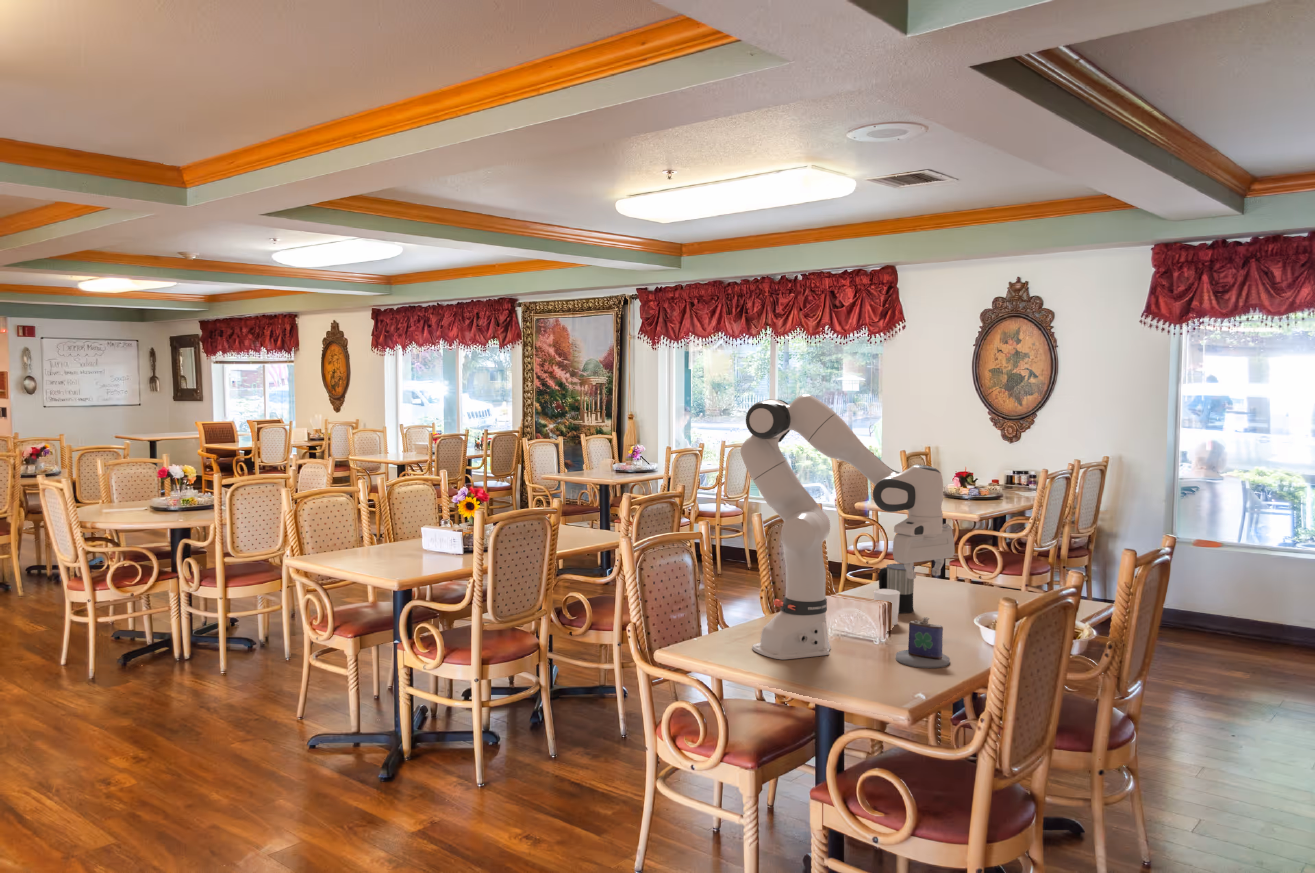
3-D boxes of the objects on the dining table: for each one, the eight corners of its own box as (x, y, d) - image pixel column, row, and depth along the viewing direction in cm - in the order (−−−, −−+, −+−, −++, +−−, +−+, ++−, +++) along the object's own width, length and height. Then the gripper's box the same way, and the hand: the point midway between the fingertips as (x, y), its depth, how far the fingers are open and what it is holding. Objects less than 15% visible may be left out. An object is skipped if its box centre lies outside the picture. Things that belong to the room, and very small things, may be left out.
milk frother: (919, 610, 305) (920, 565, 304) (895, 618, 294) (896, 572, 293) (881, 603, 315) (882, 560, 314) (856, 611, 304) (857, 566, 303)
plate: (924, 671, 238) (924, 667, 238) (884, 657, 250) (884, 654, 250) (960, 663, 246) (961, 659, 246) (920, 650, 258) (920, 646, 258)
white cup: (899, 626, 283) (900, 594, 283) (873, 625, 285) (874, 593, 284) (898, 620, 291) (899, 589, 290) (873, 619, 293) (873, 588, 292)
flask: (943, 658, 247) (944, 618, 246) (939, 660, 244) (940, 620, 244) (910, 652, 252) (910, 613, 251) (906, 654, 250) (906, 615, 249)
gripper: (942, 521, 254) (941, 571, 255) (889, 526, 244) (888, 578, 244) (961, 524, 249) (959, 575, 250) (907, 529, 238) (906, 582, 239)
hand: (923, 576), depth 247 cm, fingers open, 8 cm apart
